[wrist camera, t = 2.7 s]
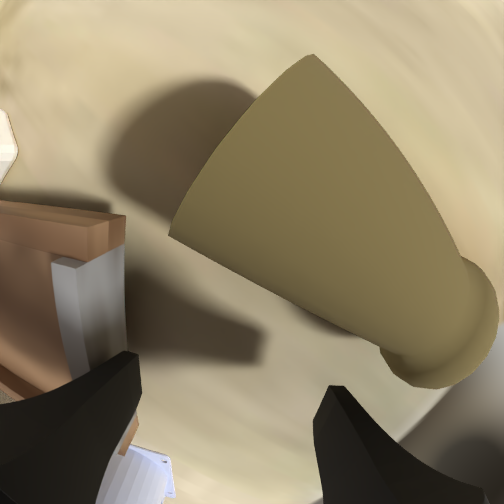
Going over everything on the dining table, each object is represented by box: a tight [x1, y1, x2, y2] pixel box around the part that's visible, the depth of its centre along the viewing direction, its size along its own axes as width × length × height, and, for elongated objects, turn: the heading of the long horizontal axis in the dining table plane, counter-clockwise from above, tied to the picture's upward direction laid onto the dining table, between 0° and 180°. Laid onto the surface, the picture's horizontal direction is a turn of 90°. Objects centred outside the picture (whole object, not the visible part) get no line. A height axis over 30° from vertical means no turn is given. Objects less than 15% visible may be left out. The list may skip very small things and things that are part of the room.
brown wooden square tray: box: [0, 200, 139, 457], centre depth 9 cm, size 11×11×4 cm
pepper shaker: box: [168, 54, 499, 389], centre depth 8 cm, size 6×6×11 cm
